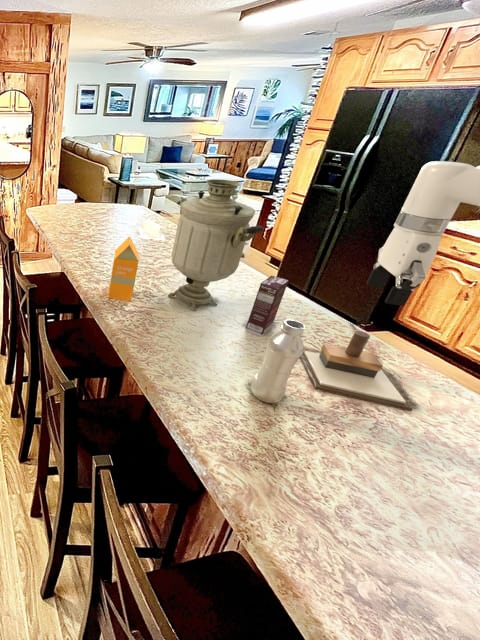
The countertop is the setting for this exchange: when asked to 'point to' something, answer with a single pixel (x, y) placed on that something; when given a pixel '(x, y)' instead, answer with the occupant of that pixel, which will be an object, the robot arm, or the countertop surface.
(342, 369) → the scrub brush
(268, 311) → the supplement box
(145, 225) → the napkin holder
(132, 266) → the orange juice
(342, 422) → the countertop surface
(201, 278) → the samovar
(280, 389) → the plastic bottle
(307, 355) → the tile board
